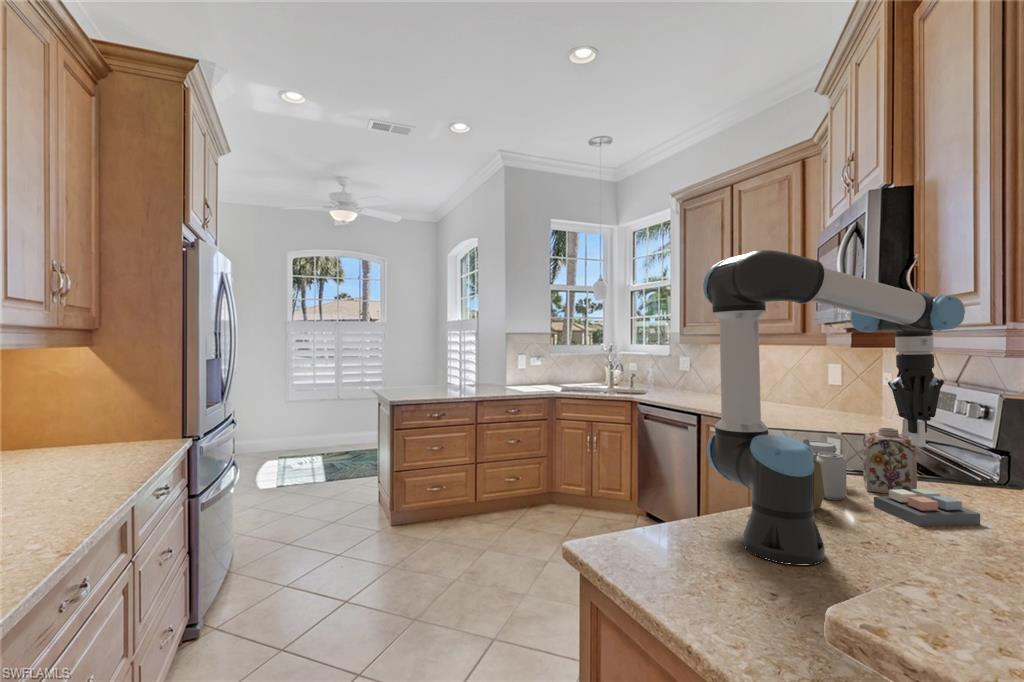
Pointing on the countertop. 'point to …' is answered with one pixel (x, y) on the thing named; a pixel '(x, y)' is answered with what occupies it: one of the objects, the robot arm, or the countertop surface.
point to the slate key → (947, 503)
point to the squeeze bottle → (817, 480)
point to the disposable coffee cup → (822, 447)
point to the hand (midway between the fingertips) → (918, 445)
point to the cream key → (901, 495)
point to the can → (833, 475)
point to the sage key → (924, 493)
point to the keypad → (927, 514)
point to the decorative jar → (889, 461)
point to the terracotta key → (923, 504)
